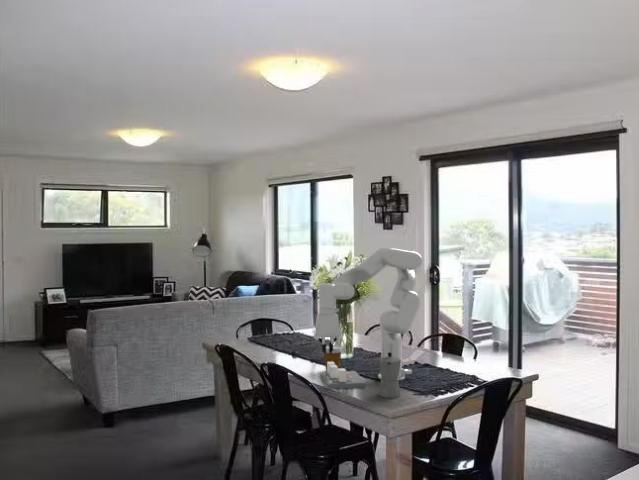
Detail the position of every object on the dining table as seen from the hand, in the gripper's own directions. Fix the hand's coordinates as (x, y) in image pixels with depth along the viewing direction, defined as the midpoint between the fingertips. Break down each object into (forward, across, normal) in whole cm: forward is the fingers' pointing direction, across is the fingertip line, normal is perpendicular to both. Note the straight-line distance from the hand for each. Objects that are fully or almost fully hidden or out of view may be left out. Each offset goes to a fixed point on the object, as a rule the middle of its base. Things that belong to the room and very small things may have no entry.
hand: (327, 352), depth 269 cm
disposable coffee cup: (+15, -7, -27) cm, 32 cm away
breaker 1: (+13, -4, -14) cm, 19 cm away
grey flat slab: (+15, -8, -7) cm, 18 cm away
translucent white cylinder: (+16, -46, -36) cm, 61 cm away
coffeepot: (+15, -24, +16) cm, 33 cm away
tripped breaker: (+13, -6, 0) cm, 14 cm away
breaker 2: (+13, -4, -7) cm, 15 cm away
